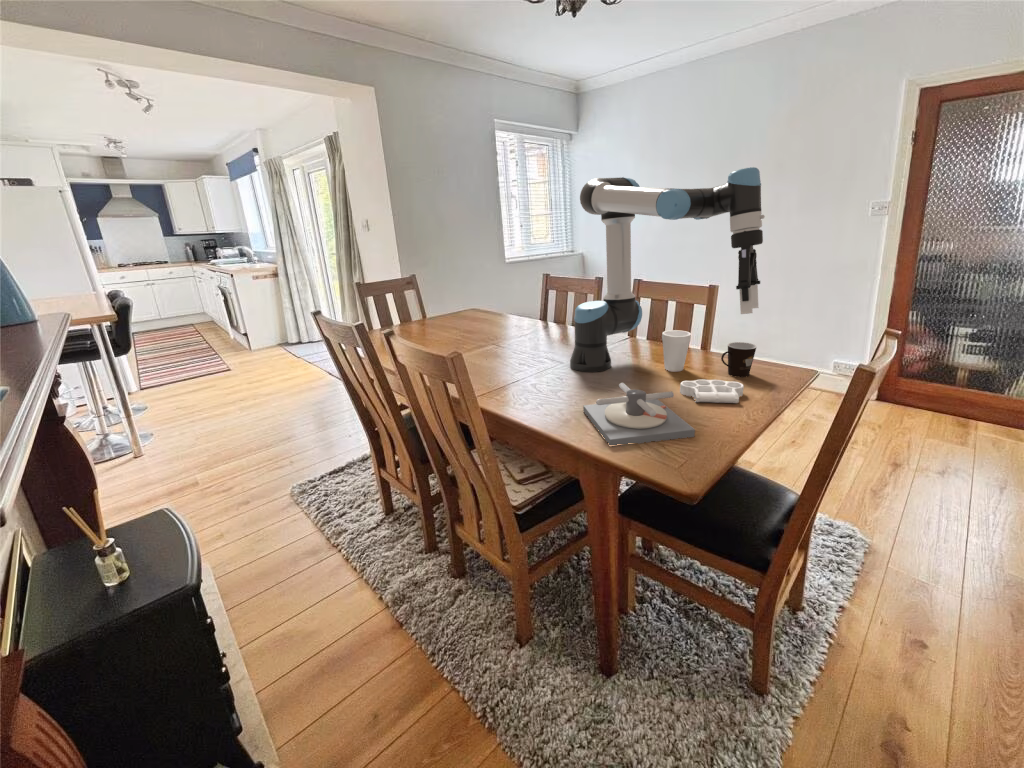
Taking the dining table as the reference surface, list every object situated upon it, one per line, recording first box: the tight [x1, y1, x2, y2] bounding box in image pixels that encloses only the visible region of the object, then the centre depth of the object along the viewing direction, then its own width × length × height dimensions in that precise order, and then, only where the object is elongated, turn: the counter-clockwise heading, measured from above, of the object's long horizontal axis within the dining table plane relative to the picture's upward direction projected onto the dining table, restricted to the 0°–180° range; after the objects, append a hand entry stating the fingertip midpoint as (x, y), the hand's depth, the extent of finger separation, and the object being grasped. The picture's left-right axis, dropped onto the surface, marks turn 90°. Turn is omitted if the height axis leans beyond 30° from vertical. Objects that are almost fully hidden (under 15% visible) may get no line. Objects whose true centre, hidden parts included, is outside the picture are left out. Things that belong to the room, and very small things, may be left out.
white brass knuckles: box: [679, 378, 744, 404], centre depth 139 cm, size 3×18×15 cm
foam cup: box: [661, 329, 692, 373], centre depth 161 cm, size 10×9×13 cm
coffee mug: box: [720, 341, 757, 378], centre depth 153 cm, size 12×9×10 cm
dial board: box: [582, 399, 696, 446], centre depth 123 cm, size 22×22×2 cm
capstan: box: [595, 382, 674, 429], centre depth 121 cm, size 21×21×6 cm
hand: (749, 311), depth 126 cm, fingers open, 13 cm apart
